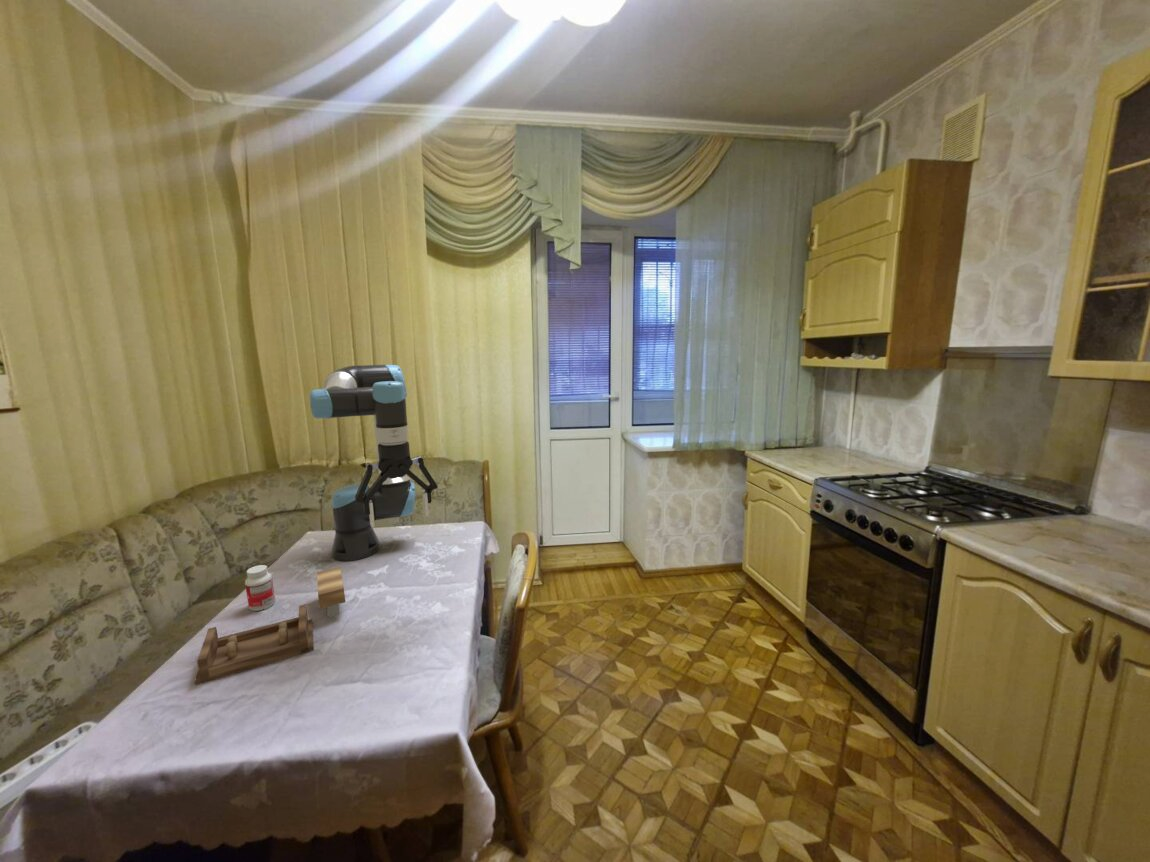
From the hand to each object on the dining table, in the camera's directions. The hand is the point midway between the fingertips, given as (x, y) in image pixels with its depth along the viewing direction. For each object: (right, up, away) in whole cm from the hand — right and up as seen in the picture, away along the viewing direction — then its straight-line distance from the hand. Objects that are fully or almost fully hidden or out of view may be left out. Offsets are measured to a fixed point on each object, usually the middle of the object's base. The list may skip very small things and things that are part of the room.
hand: (400, 520), depth 121 cm
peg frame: (-28, -28, -13) cm, 42 cm away
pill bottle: (-41, -25, +6) cm, 48 cm away
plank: (-21, -21, +5) cm, 30 cm away
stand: (-21, -25, +5) cm, 33 cm away
